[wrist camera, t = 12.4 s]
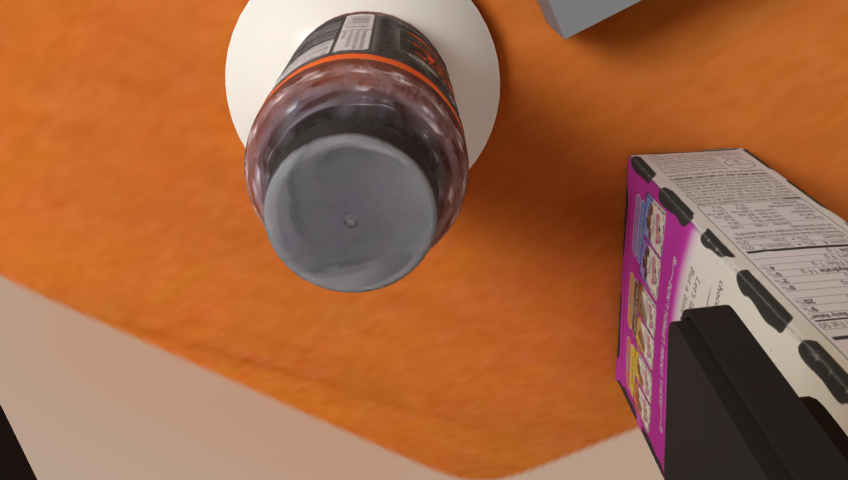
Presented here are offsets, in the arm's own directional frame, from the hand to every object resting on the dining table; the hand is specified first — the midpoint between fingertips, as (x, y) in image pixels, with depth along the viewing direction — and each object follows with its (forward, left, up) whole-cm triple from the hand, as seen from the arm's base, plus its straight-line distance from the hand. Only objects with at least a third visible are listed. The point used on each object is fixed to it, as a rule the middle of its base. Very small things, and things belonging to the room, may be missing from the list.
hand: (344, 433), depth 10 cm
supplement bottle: (0, 0, -18) cm, 18 cm away
